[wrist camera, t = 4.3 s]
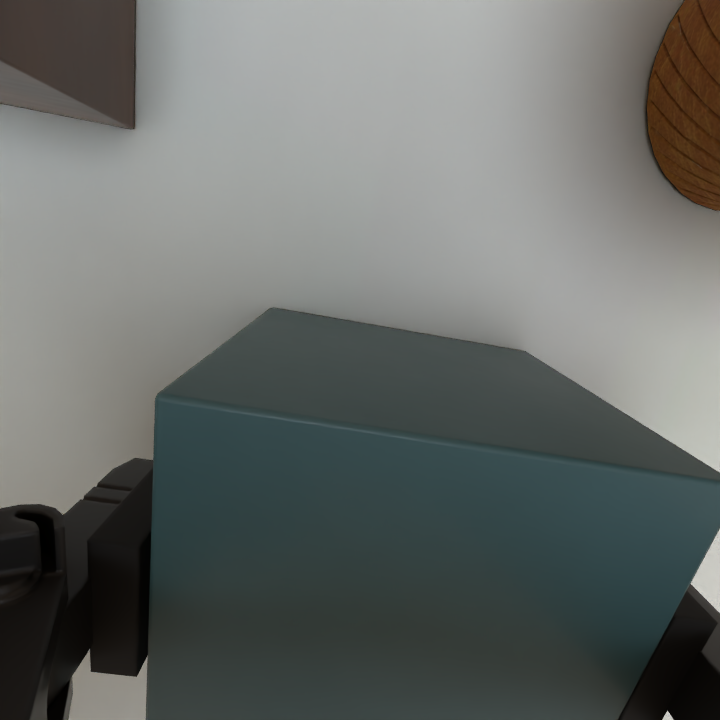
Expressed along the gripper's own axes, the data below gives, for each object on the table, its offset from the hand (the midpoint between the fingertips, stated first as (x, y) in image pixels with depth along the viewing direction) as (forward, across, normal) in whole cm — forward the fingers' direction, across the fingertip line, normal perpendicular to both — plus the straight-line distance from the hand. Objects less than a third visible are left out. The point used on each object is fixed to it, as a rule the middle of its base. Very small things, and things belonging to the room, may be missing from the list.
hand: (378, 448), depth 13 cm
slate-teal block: (0, 0, 0) cm, 0 cm away
